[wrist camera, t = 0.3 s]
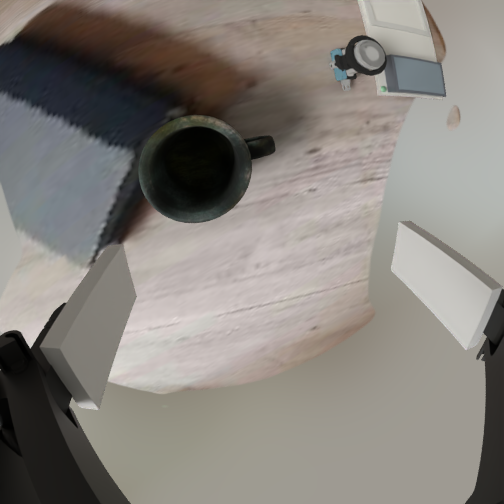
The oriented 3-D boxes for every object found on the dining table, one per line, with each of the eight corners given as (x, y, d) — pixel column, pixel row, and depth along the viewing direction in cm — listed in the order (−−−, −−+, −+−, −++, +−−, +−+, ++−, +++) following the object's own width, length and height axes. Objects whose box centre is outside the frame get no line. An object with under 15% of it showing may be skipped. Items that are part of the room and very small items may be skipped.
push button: (359, 90, 34) (396, 85, 26) (326, 92, 34) (359, 84, 25) (350, 50, 32) (386, 35, 23) (318, 50, 31) (347, 32, 22)
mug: (150, 134, 34) (123, 139, 24) (253, 102, 34) (269, 92, 24) (174, 205, 39) (159, 237, 28) (273, 175, 39) (295, 196, 28)
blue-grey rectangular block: (381, 56, 31) (390, 54, 29) (431, 64, 32) (441, 63, 29) (387, 92, 34) (397, 91, 32) (436, 96, 34) (446, 96, 32)
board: (347, -31, 24) (350, -34, 23) (413, -15, 25) (416, -17, 24) (377, 95, 35) (382, 94, 34) (439, 99, 35) (444, 100, 34)
